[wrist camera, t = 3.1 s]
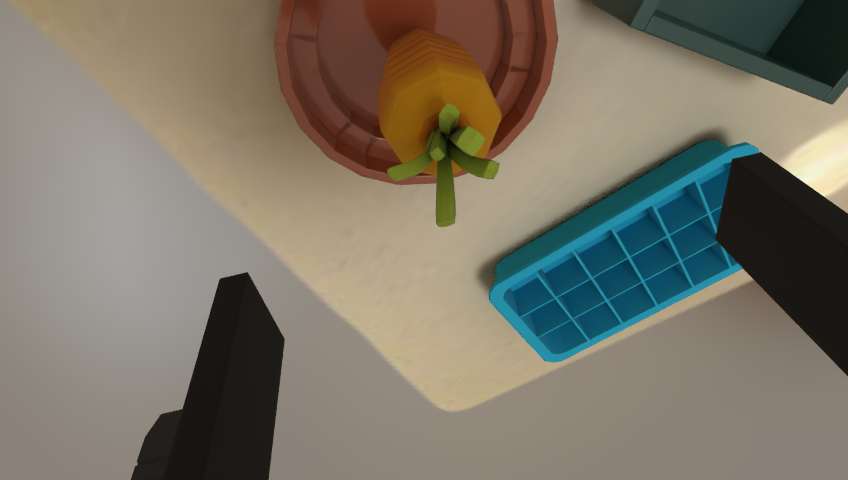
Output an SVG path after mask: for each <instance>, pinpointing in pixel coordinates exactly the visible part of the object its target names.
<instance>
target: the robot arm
mask: <svg viewBox="0 0 848 480" xmlns="http://www.w3.org/2000/svg"><path fill="white" fill-rule="evenodd" d="M715 240H716V241H717V242H718V243H719V244H720V245H721V246H722V247H723V248H724V249H725V250H726V251H727V252H728V254H729V255H730V256H731V257H732V258H733V259H734V260H735V261H736V262H737V263H738V264H739V265H740V266H741V267H742V268H743V269H744V270H745V271H746V272H747V273H748V274H749V275H750V276H751V277H752V278H753V279H754V280H755V281H756V282H757V283H758V284H759V285H760V286H761V287H762V288H763V289H764V291H766V292H767V294H768V295H769V296H770V297H771V298H772V299H773V300H774V301H775V302H776V303H777V304H778V305H779V306H780V307H781V308H782V309H783V310H784V311H785V312H786V313H787V314H788V315H789V316H790V317H791V318H792V319H793V320H794V321H795V322H796V323H797V324H798V325H799V326H800V328H802V330H803V331H804V332H806V334H807V335H808V336H809V337H810V338H811V339H812V340H813V341H814V342H815V343H816V344H817V345H818V346H819V347H820V348H821V349H822V350H823V351H824V352H825V353H826V354H827V355H828V356H829V357H830V358H831V359H832V360H833V361H834V362H835V364H836V365H837V366H838V367H839V368H840V369H841V370H842V371H843V372H844V373H845V374H846V375H847V376H848V213H846V212H845V211H843V210H842V209H840V208H839V207H838V206H836V205H835V204H833V203H832V202H831V201H829V200H828V199H826V198H825V197H824V196H822V195H821V194H819V193H818V192H816V191H815V190H814V189H812V188H811V187H809V186H808V185H807V184H805V183H804V182H802V181H801V180H799V179H798V178H797V177H795V176H794V175H792V174H791V173H790V172H788V171H787V170H785V169H784V168H783V167H781V166H780V165H778V164H777V163H775V162H774V161H773V160H771V159H770V158H768V157H767V156H766V155H764V154H763V153H761V152H760V153H755V154H751V155H747V156H742V157H738V158H734V159H732V162H731V167H730V172H729V176H728V181H727V185H726V190H725V195H724V199H723V204H722V209H721V213H720V218H719V222H718V227H717V232H716V236H715ZM284 340H285V339H284V337H283V335H282V334H281V332H280V330H279V328H278V326H277V325H276V323H275V321H274V319H273V317H272V316H271V314H270V312H269V310H268V308H267V306H266V305H265V303H264V301H263V299H262V297H261V295H260V294H259V292H258V290H257V289H256V286H255V285H254V283H253V281H252V280H251V277H250V276H249V274H248V272H247V273H242V274H238V275H234V276H230V277H225V278H221V279H220V280H219V283H218V287H217V290H216V294H215V297H214V301H213V304H212V308H211V312H210V315H209V319H208V322H207V326H206V329H205V332H204V336H203V340H202V343H201V347H200V350H199V354H198V357H197V361H196V364H195V368H194V371H193V375H192V378H191V382H190V385H189V389H188V392H187V396H186V399H185V403H184V406H183V409H181V410H178V411H173V412H169V413H164V414H161V415H160V417H159V418H158V420H157V421H156V422H155V424H154V425H153V427H152V428H151V429H150V431H149V432H148V434H147V435H146V437H145V439H144V443H143V445H142V448H141V451H140V454H139V457H138V460H137V462H138V465H137V466H135V469H134V472H133V475H132V478H131V480H268V479H269V471H270V462H271V453H272V445H273V436H274V427H275V417H276V410H277V401H278V393H279V384H280V375H281V366H282V358H283V349H284Z"/></svg>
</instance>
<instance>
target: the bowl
mask: <svg viewBox="0 0 848 480" xmlns="http://www.w3.org/2000/svg"><path fill="white" fill-rule="evenodd" d="M415 28H419V29H422V30H426V31H429V32H433V33H437V34H440V35H443V36H446V37H448V38H451V39H453V40H454V41H456V42H458V43H460V44H461V45H462V46H463V47H464V48H465V50H466V51H467V52H468V53H469V54H470V55H471V57H472V58H473V59H474V61H475V62H476V63H477V65H478V66H479V67H480V69H481V70H482V72H483V74H484V77H485V79H486V81H487V83H488V85H489V87H490V89H491V91H492V93H493V96H494V98H495V100H496V102H497V104H498V106H499V108H500V110H501V113H502V117H501V121H500V123H499V126H498V128H497V131H496V133H495V136H494V138H493V141H492V143H491V146H490V148H489V151H488V153H487V155H486V158H484V159H489V160H491V159H492V158H494V157H495V156H497V155H498V154H500V153H502V152H503V151H504V150H506V149H507V147H508V146H509V145H510V144H511V143H512V142H513V141H514V140H515V138H516V137H517V136H518V135H519V134H520V133H521V132H522V131H523V129H524V128H525V127H526V126H527V125H528V124H529V123H530V122H531V120H532V119H533V117H534V115H535V113H536V111H537V109H538V107H539V105H540V103H541V101H542V99H543V97H544V95H545V93H546V90H547V88H548V86H549V84H550V81H551V75H552V70H553V64H554V59H555V53H556V47H557V42H558V36H557V27H556V19H555V11H554V3H553V0H281V5H280V11H279V17H278V22H277V28H276V34H275V40H274V43H275V44H274V47H275V54H276V61H277V67H278V74H279V80H280V87H281V91H282V93H283V95H284V97H285V99H286V101H287V103H288V105H289V107H290V109H291V111H292V113H293V115H294V117H295V119H296V121H297V123H298V125H299V127H300V128H301V129H302V130H303V131H304V132H305V133H306V135H307V136H308V137H309V138H310V139H311V140H312V141H313V142H314V143H315V144H316V145H317V146H318V147H319V148H320V149H321V150H322V151H323V152H324V153H325V154H326V155H327V156H328V157H329V158H330V159H332V160H334V161H336V162H337V163H339V164H341V165H343V166H344V167H346V168H348V169H350V170H352V171H353V172H355V173H357V174H359V175H360V176H363V177H367V178H371V179H376V180H380V181H384V182H388V183H393V184H397V185H409V184H430V183H437V176H436V175H431V174H425V173H419V174H418V175H415V176H412V177H410V178H407V179H404V180H400V181H394V180H393V179H392V178H391V177H390V176H389V174H388V173H387V170H388V169H389V168H391V167H394V166H397V165H400V164H402V162H401V161H400V159H399V158H398V156H397V155H396V153H395V152H394V150H393V149H392V147H391V146H390V144H389V143H388V141H387V140H386V138H385V137H384V135H383V134H382V132H381V130H380V122H379V110H378V92H379V88H380V84H381V80H382V76H383V72H384V68H385V64H386V60H387V56H388V52H389V48H390V46H391V44H392V42H394V41H395V40H397V39H399V38H400V37H402V36H404V35H405V34H407V33H409V32H410V31H412V30H413V29H415ZM467 173H468V172H466V171H464V170H462V171H460V172H458V173H456V174H454V175H453V178H454V177H458V176H461V175H464V174H467Z"/></svg>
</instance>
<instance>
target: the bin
mask: <svg viewBox="0 0 848 480" xmlns="http://www.w3.org/2000/svg"><path fill="white" fill-rule="evenodd" d="M588 1H589V2H591V3H592V4H594V5H596V6H597V7H599V8H601V9H602V10H604V11H605V12H607V13H609V14H610V15H612V16H614V17H615V18H617V19H618V20H620V21H622V22H623V23H625V24H627V25H628V26H630V27H632V28H635V29H637V30H640V31H643V32H645V33H648V34H650V35H653V36H655V37H658V38H661V39H663V40H666V41H668V42H671V43H674V44H676V45H679V46H681V47H684V48H686V49H689V50H692V51H694V52H697V53H699V54H702V55H705V56H707V57H710V58H712V59H715V60H717V61H720V62H723V63H725V64H728V65H730V66H733V67H736V68H738V69H741V70H743V71H746V72H748V73H751V74H754V75H756V76H759V77H761V78H764V79H767V80H769V81H772V82H774V83H777V84H779V85H782V86H785V87H787V88H790V89H792V90H795V91H798V92H800V93H803V94H805V95H808V96H810V97H813V98H816V99H818V100H821V101H823V102H826V103H829V104H834V102H835V101H836V100H837V99H838V98H839V96H840V95H841V94H842V93H843V92H844V91H845V89H846V88H847V87H848V0H588Z"/></svg>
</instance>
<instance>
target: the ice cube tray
mask: <svg viewBox="0 0 848 480" xmlns="http://www.w3.org/2000/svg"><path fill="white" fill-rule="evenodd" d="M755 153H759V150H758V148H756V147H755V146H753V145H750V144H748V143H746V142H745V143H740V144H736V145H732V146H730V147H727V146H725V145H724V144H722V143H720V142H718V141H715V140H711V139H709V140H706V141H704V142H701V143H698V144H696V145H694V146H692V147H691V148H689V149H687V150H686V151H684V152H682V153H680V154H679V155H677V156H675V157H674V158H672V159H670V160H669V161H667V162H665V163H664V164H662V165H660V166H659V167H657V168H655V169H653V170H652V171H650V172H648V173H647V174H645V175H643V176H642V177H640V178H638V179H637V180H635V181H633V182H632V183H630V184H628V185H626V186H625V187H623V188H621V189H620V190H618V191H616V192H615V193H613V194H611V195H610V196H608V197H606V198H605V199H603V200H601V201H599V202H598V203H596V204H594V205H593V206H591V207H589V208H588V209H586V210H584V211H583V212H581V213H579V214H578V215H576V216H574V217H573V218H571V219H569V220H567V221H566V222H564V223H562V224H561V225H559V226H557V227H556V228H554V229H552V230H551V231H549V232H547V233H546V234H544V235H542V236H540V237H539V238H537V239H535V240H534V241H532V242H530V243H529V244H527V245H525V246H524V247H522V248H520V249H519V250H517V251H515V252H513V253H512V254H510V255H508V256H507V257H505V258H503V259H502V260H501V261H500V262H499V263H498V264H497V265H496V268H495V278H496V283H494V285H493V286H492V287H491V289H490V290H489V300H490V302H491V303H492V304H493V306H494V307H495V308H496V309H497V310H498V311H499V312H500V313H501V314H502V315H503V316H504V317H505V319H506V320H507V321H508V322H509V323H510V324H511V325H512V326H513V327H514V328H515V329H516V330H517V332H518V333H519V334H520V335H521V336H522V337H523V338H524V339H525V340H526V341H527V342H528V343H529V345H530V346H531V347H532V348H533V349H534V350H535V351H536V352H537V353H538V354H539V355H540V356H541V357H542V359H543V360H544V361H548V362H559V361H563V360H565V359H567V358H569V357H571V356H573V355H575V354H576V353H578V352H580V351H582V350H584V349H586V348H588V347H590V346H592V345H594V344H596V343H598V342H600V341H602V340H604V339H606V338H608V337H610V336H612V335H614V334H616V333H618V332H619V331H621V330H623V329H625V328H627V327H629V326H631V325H633V324H635V323H637V322H639V321H641V320H643V319H645V318H647V317H649V316H651V315H653V314H655V313H657V312H659V311H661V310H662V309H664V308H666V307H668V306H670V305H672V304H674V303H676V302H678V301H680V300H682V299H684V298H686V297H688V296H690V295H692V294H694V293H696V292H698V291H700V290H702V289H704V288H706V287H707V286H709V285H711V284H713V283H715V282H717V281H719V280H721V279H723V278H725V277H727V276H729V275H731V274H733V273H735V272H737V271H739V270H741V269H743V268H742V267H741V266H740V265H739V264H738V263H737V262H736V261H735V260H734V259H733V258H732V257H731V256H730V255H729V254H728V252H727V251H726V250H725V249H724V248H723V247H722V246H721V245H720V244H719V243H718V242H717V241H716V240H715V236H716V232H717V227H718V222H719V218H720V213H721V209H722V204H723V199H724V195H725V190H726V185H727V181H728V176H729V172H730V167H731V162H732V159H734V158H738V157H742V156H747V155H751V154H755Z"/></svg>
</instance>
